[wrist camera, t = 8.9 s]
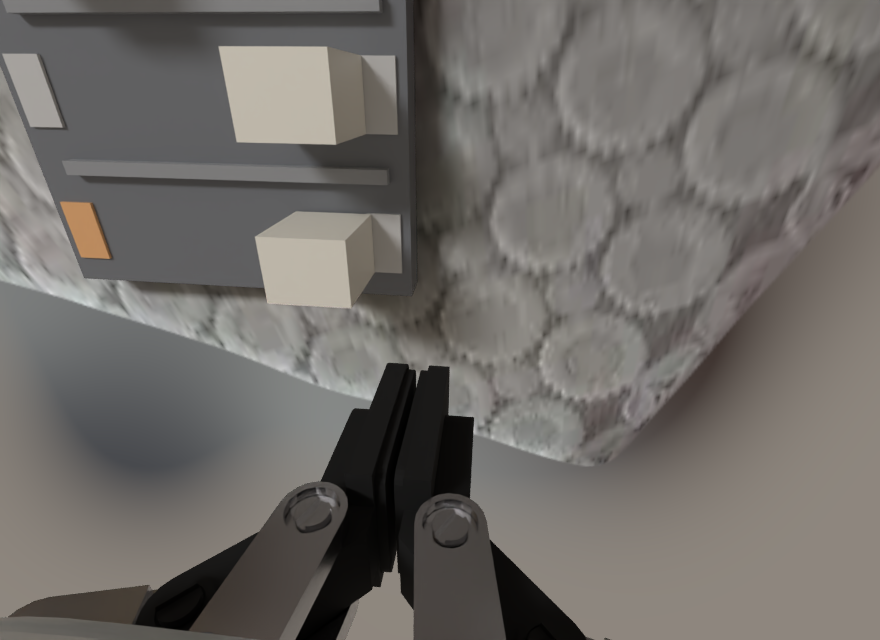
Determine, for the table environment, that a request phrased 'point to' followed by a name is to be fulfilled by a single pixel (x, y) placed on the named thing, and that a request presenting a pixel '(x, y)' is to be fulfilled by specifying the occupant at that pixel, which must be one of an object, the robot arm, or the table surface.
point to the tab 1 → (294, 94)
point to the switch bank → (206, 133)
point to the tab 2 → (317, 259)
